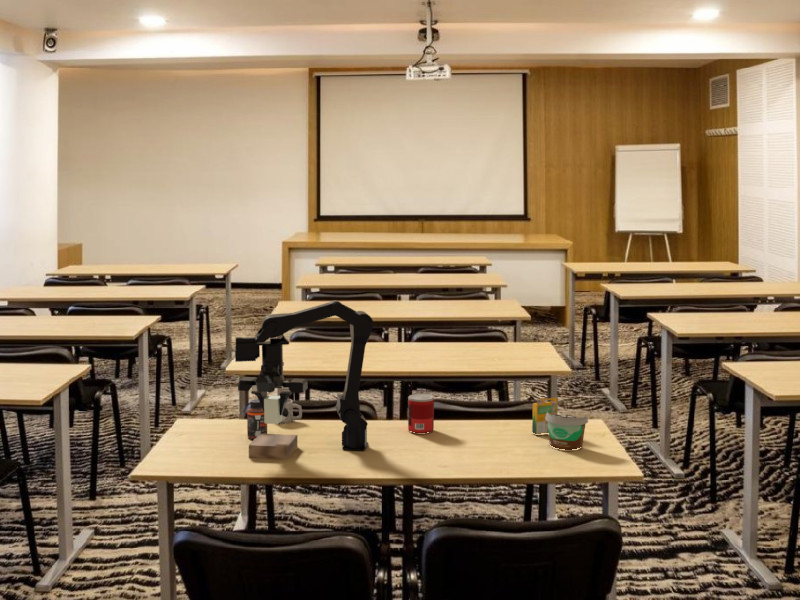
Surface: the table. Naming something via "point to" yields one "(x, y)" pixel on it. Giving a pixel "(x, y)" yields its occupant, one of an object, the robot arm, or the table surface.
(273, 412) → the sage block
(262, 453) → the walnut block
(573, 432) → the food container
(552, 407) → the crayon box
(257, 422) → the supplement bottle
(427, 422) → the canned food
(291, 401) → the mug
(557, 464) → the table surface
